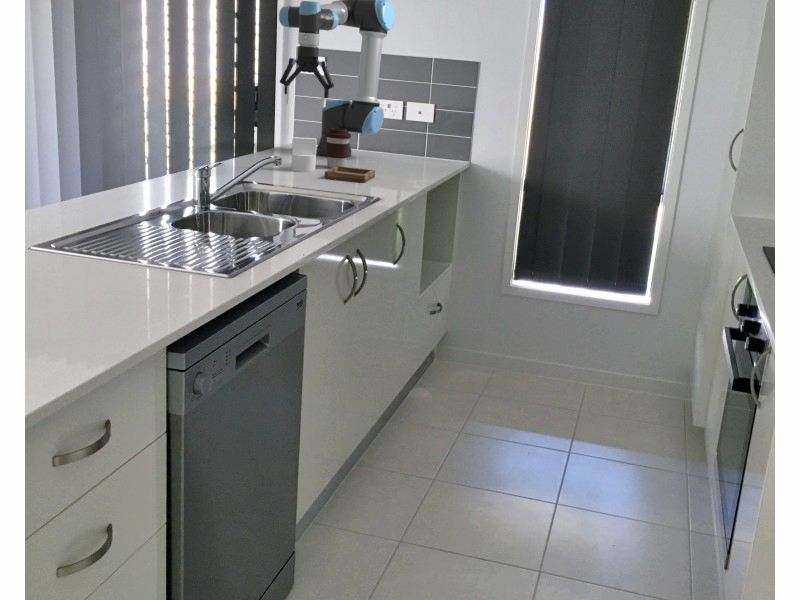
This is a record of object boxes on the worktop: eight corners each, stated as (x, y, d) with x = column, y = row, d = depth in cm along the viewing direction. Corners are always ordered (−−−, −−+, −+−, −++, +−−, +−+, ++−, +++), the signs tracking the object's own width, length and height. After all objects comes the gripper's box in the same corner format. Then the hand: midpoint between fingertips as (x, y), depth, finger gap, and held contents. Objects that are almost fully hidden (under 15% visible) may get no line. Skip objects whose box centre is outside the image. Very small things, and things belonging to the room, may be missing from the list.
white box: (314, 168, 328) (315, 137, 325) (316, 172, 320) (317, 140, 316) (290, 167, 327) (292, 136, 323) (292, 171, 318) (293, 139, 315)
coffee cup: (348, 170, 330) (350, 131, 326) (322, 168, 330) (324, 129, 326) (350, 166, 340) (352, 128, 335) (325, 164, 340) (327, 126, 335)
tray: (336, 172, 323) (336, 166, 322) (374, 176, 320) (375, 170, 319) (324, 178, 309) (324, 171, 308) (364, 182, 306) (364, 175, 305)
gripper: (272, 43, 309) (270, 102, 315) (338, 48, 304) (335, 109, 310) (279, 43, 316) (277, 101, 322) (344, 48, 311) (341, 107, 317)
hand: (305, 105), depth 316 cm, fingers open, 13 cm apart
